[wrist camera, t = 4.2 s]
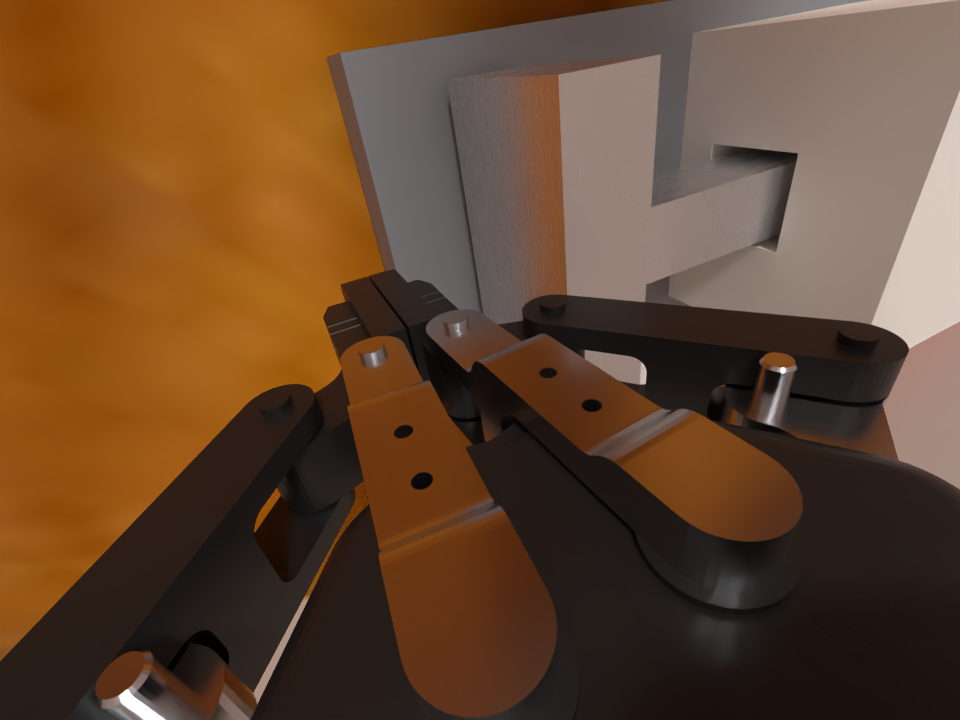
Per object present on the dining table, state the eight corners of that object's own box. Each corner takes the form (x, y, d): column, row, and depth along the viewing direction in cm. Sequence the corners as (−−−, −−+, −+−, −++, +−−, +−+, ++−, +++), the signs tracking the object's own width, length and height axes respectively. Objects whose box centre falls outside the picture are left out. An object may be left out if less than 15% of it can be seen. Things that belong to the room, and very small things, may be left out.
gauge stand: (326, 57, 13) (465, 10, 6) (853, -27, 20) (1253, -103, 12) (438, 465, 23) (547, 660, 15) (771, 316, 29) (968, 398, 22)
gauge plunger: (446, 79, 13) (558, 74, 8) (748, 23, 16) (938, -2, 12) (507, 468, 21) (578, 564, 17) (695, 380, 25) (794, 441, 20)
